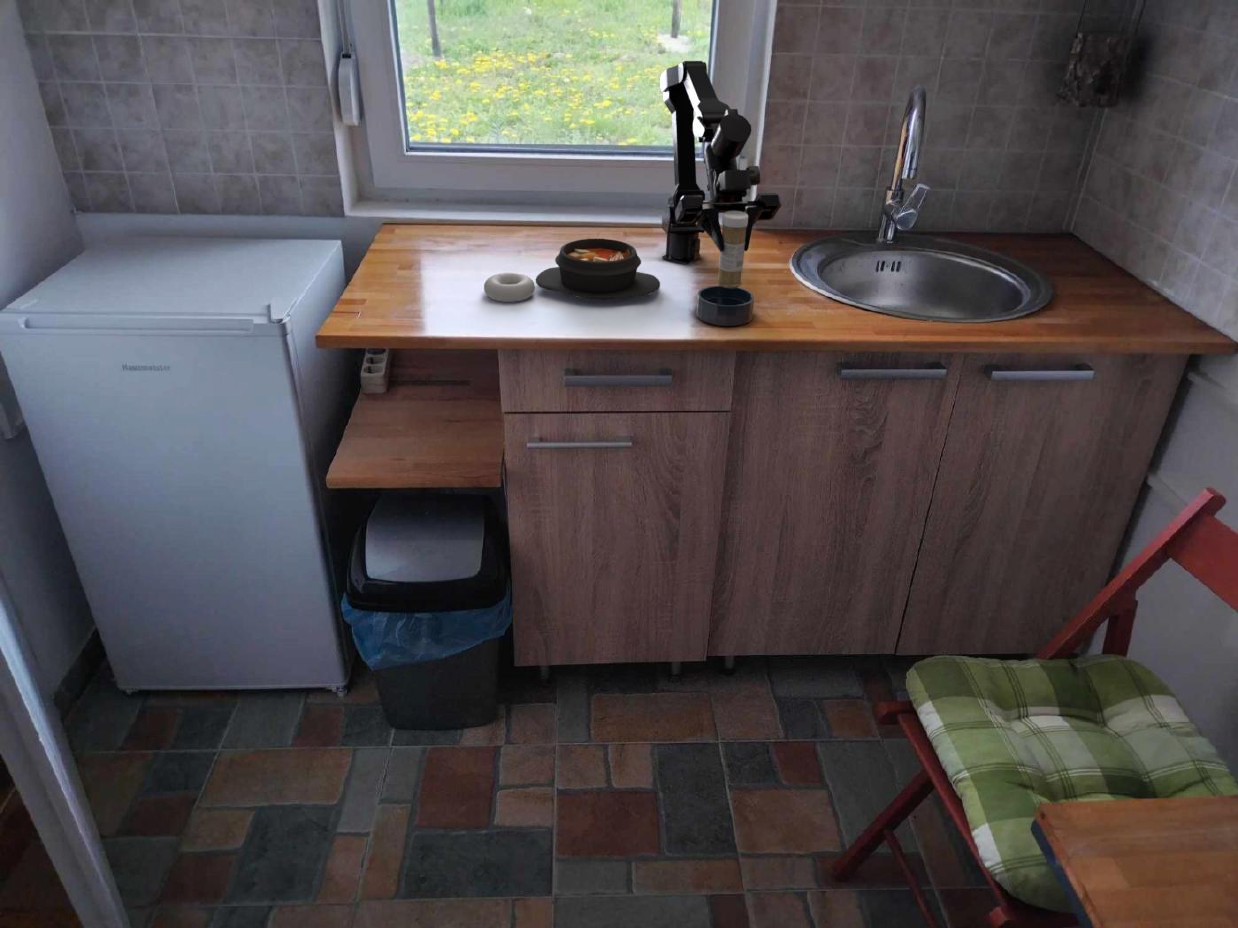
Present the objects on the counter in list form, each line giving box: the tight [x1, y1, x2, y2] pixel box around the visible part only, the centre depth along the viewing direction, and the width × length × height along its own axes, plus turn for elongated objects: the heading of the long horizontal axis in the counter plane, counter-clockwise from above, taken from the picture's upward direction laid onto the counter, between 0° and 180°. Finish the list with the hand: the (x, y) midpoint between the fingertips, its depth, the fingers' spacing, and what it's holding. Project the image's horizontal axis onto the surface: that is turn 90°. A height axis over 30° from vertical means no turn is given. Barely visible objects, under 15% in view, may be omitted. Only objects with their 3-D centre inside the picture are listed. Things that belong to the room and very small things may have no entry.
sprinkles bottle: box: [716, 211, 748, 288], centre depth 168 cm, size 5×5×14 cm
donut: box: [483, 272, 536, 303], centre depth 180 cm, size 10×4×10 cm
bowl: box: [695, 285, 755, 327], centre depth 173 cm, size 11×11×4 cm
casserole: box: [535, 238, 661, 301], centre depth 182 cm, size 25×19×8 cm
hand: (734, 250), depth 167 cm, fingers closed on sprinkles bottle, 4 cm apart
